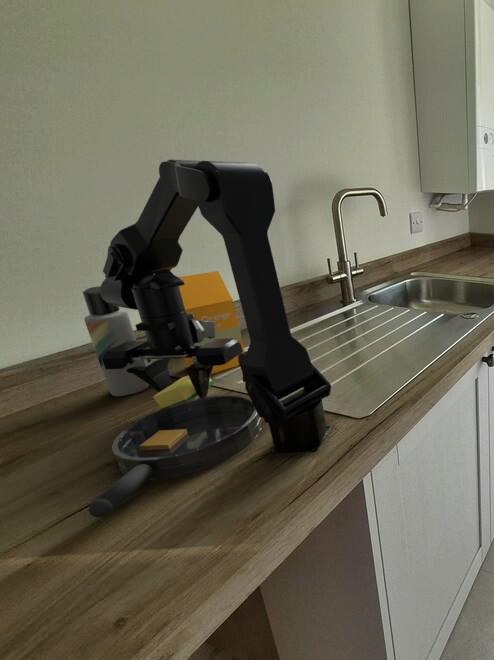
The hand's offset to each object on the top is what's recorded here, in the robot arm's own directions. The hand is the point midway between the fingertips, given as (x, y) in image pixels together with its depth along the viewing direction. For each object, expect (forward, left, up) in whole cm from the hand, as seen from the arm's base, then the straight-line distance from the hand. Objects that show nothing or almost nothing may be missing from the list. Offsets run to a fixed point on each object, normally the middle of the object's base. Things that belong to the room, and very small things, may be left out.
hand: (188, 398), depth 71 cm
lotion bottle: (+16, -8, -2) cm, 18 cm away
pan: (-8, +11, -2) cm, 14 cm away
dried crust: (-3, +11, -1) cm, 12 cm away
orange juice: (+6, -18, -2) cm, 19 cm away
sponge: (0, 0, 0) cm, 1 cm away
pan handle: (-8, +24, -1) cm, 25 cm away
